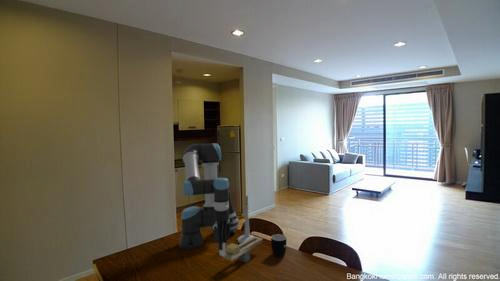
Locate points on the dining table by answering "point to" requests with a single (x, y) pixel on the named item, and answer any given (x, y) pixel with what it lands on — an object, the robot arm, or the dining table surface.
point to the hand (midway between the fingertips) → (222, 255)
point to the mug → (278, 245)
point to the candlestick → (246, 224)
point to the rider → (232, 248)
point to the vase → (232, 217)
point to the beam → (244, 249)
